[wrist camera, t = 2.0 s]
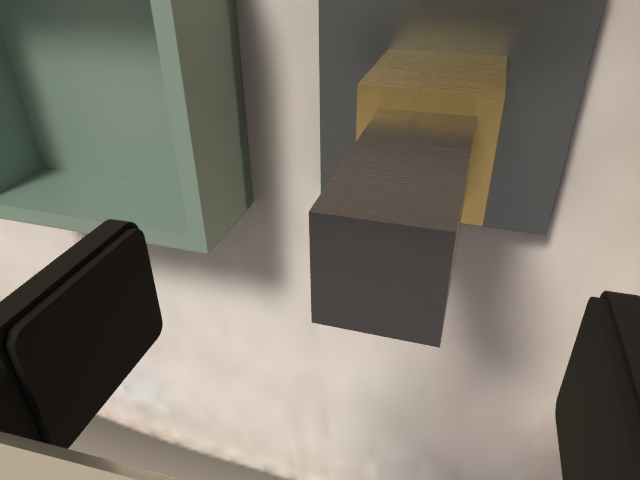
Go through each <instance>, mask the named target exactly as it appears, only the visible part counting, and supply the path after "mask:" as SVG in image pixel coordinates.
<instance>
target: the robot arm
mask: <svg viewBox="0 0 640 480" xmlns="http://www.w3.org/2000/svg"><path fill="white" fill-rule="evenodd" d="M161 330H162V317H161V312H160V307H159V303H158V298H157V293H156V288H155V283H154V279H153V274H152V269H151V264H150V259H149V255H148V250H147V245H146V240H145V236H144V233H143V232H142V230H140V229H139V228H138V226H137V225H136V224H135V223H133V222H129V221H122V220H115V219H108V220H106V221H104V222H103V223H102V224H101V225H99V226H98V227H97V228H95V229H94V230H93V231H91V232H90V233H89V234H88V235H86V236H85V237H84V238H82V239H81V240H80V241H79V242H77V243H76V244H75V245H73V246H72V247H71V248H69V249H68V250H67V251H66V252H64V253H63V254H62V255H60V256H59V257H58V258H56V259H55V260H54V261H53V262H51V263H50V264H49V265H47V266H46V267H45V268H44V269H42V270H41V271H40V272H38V273H37V274H36V275H34V276H33V277H32V278H31V279H29V280H28V281H27V282H25V283H24V284H23V285H22V286H20V287H19V288H18V289H16V290H15V291H14V292H12V293H11V294H10V295H9V296H7V297H6V298H5V299H3V300H2V301H1V302H0V480H181V479H178V478H174V477H170V476H167V475H163V474H159V473H155V472H152V471H148V470H145V469H141V468H137V467H133V466H129V465H126V464H122V463H118V462H114V461H111V460H107V459H103V458H100V457H95V456H92V455H88V454H84V453H80V452H77V451H73V450H69V449H68V448H69V447H70V446H71V444H72V443H73V442H74V441H75V440H76V438H77V437H78V436H79V435H80V434H81V432H82V431H83V430H84V429H85V427H86V426H87V425H88V424H89V422H90V421H91V420H92V418H93V417H94V416H95V415H96V414H97V412H98V411H99V410H100V409H101V408H102V406H103V405H104V404H105V403H106V401H107V400H108V399H109V398H110V396H111V395H112V394H113V393H114V391H115V390H116V389H117V388H118V387H119V385H120V384H121V383H122V382H123V380H124V379H125V378H126V377H127V375H128V374H129V373H130V372H131V370H132V369H133V368H134V367H135V365H136V364H137V363H138V362H139V361H140V359H141V358H142V357H143V356H144V354H145V353H146V352H147V351H148V349H149V348H150V347H151V346H152V344H153V343H154V342H155V341H156V340H157V338H158V337H159V335H160V333H161ZM555 415H556V425H557V434H558V442H559V451H560V459H561V468H562V476H563V480H640V296H638V295H631V294H624V293H617V292H610V291H604V292H603V293H602V294H601V296H600V298H597V297H590V299H589V301H588V303H587V306H586V309H585V313H584V316H583V319H582V322H581V325H580V328H579V331H578V335H577V338H576V341H575V344H574V347H573V350H572V353H571V356H570V360H569V363H568V366H567V369H566V372H565V375H564V378H563V382H562V385H561V388H560V391H559V394H558V397H557V402H556V411H555Z"/></svg>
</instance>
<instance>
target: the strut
mask: <svg viewBox="0 0 640 480" xmlns="http://www.w3.org/2000/svg"><path fill="white" fill-rule="evenodd" d="M506 68H507V56H498V55H480V54H462V53H443V52H425V51H407V50H389V49H388V50H387V51H386V53H385V54H384V55H383V56H382V57H381V58H380V59H379V61H378V62H377V63H376V64H375V65H374V66H373V67H372V68H371V70H370V71H369V72H368V73H367V74H366V75H365V76H364V77H363V79H362V80H361V81H360V82H359V83H358V84H357V121H356V142H355V144H354V145H353V147H352V148H351V150H350V151H349V153H348V154H347V156H346V157H345V159H344V160H343V162H342V163H341V165H340V166H339V168H338V169H337V171H336V172H335V174H334V175H333V177H332V178H331V180H330V181H329V183H328V184H327V185H326V187H325V188H324V190H323V191H322V193H321V194H320V196H319V197H318V199H317V200H316V202H315V203H314V205H313V206H312V208H311V209H310V211H309V235H310V273H311V311H312V323H317V324H323V325H328V326H333V327H338V328H343V329H348V330H353V331H358V332H363V333H368V334H373V335H379V336H384V337H389V338H394V339H399V340H404V341H409V342H414V343H419V344H424V345H429V346H435V347H440V343H441V337H442V331H443V325H444V319H445V313H446V307H447V301H448V295H449V289H450V283H451V278H452V272H453V266H454V260H455V254H456V248H457V242H458V236H459V230H460V224H461V223H462V224H470V225H477V226H483V220H484V215H485V209H486V203H487V197H488V192H489V186H490V180H491V174H492V169H493V163H494V157H495V151H496V146H497V140H498V134H499V128H500V123H501V117H502V111H503V105H504V100H505V91H506Z"/></svg>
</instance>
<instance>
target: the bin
mask: <svg viewBox="0 0 640 480" xmlns="http://www.w3.org/2000/svg"><path fill="white" fill-rule="evenodd" d="M252 204H253V195H252V184H251V173H250V161H249V150H248V139H247V128H246V116H245V105H244V94H243V82H242V71H241V60H240V49H239V37H238V26H237V15H236V3H235V0H0V219H6V220H12V221H18V222H24V223H30V224H36V225H41V226H47V227H53V228H59V229H65V230H71V231H77V232H82V233H88V234H89V233H90V232H91V231H93V230H94V229H95V228H97V227H98V226H99V225H101V224H102V223H103V222H104V221H106V220H108V219H115V220H122V221H129V222H133V223H135V224H136V225H137V226H138V228H139V229H140V230H142V232H143V233H144V236H145V240H146V243H147V244H153V245H159V246H165V247H170V248H176V249H182V250H188V251H194V252H200V253H206V254H208V253H209V252H210V251H211V250H212V249H213V248H214V247H215V245H216V244H217V243H218V242H219V241H220V240H221V239H222V238H223V236H224V235H225V234H226V233H227V232H228V231H229V230H230V228H231V227H232V226H233V225H234V224H235V223H236V222H237V221H238V219H239V218H240V217H241V216H242V215H243V214H244V213H245V211H246V210H247V209H248V208H249V207H250V206H251V205H252Z"/></svg>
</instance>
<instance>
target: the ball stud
mask: <svg viewBox="0 0 640 480" xmlns="http://www.w3.org/2000/svg"><path fill="white" fill-rule="evenodd" d="M604 3H605V0H319V68H320V151H321V193H322V191H323V190H324V188H325V187H326V185H327V184H328V183H329V181H330V180H331V178H332V177H333V175H334V174H335V172H336V171H337V169H338V168H339V166H340V165H341V163H342V162H343V160H344V159H345V157H346V156H347V154H348V153H349V151H350V150H351V148H352V147H353V145H354V144H355V142H356V121H357V84H358V83H359V82H360V81H361V80H362V79H363V77H364V76H365V75H366V74H367V73H368V72H369V71H370V70H371V68H372V67H373V66H374V65H375V64H376V63H377V62H378V61H379V59H380V58H381V57H382V56H383V55H384V54H385V53H386V51H387V50H388V49H389V50H407V51H425V52H443V53H462V54H480V55H498V56H507V68H506V91H505V100H504V105H503V111H502V117H501V123H500V128H499V134H498V140H497V146H496V151H495V157H494V163H493V169H492V174H491V180H490V186H489V192H488V197H487V203H486V209H485V215H484V220H483V226H484V227H491V228H498V229H506V230H513V231H520V232H528V233H535V234H543V235H547V231H548V227H549V223H550V219H551V215H552V211H553V207H554V203H555V199H556V195H557V191H558V187H559V183H560V179H561V175H562V171H563V167H564V163H565V159H566V155H567V151H568V147H569V143H570V139H571V135H572V131H573V127H574V123H575V119H576V115H577V111H578V107H579V103H580V99H581V95H582V91H583V87H584V83H585V79H586V75H587V71H588V67H589V63H590V59H591V55H592V51H593V47H594V43H595V39H596V35H597V31H598V27H599V23H600V19H601V15H602V11H603V7H604ZM461 224H462V223H461ZM469 225H470V224H469ZM476 226H477V225H476Z"/></svg>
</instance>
